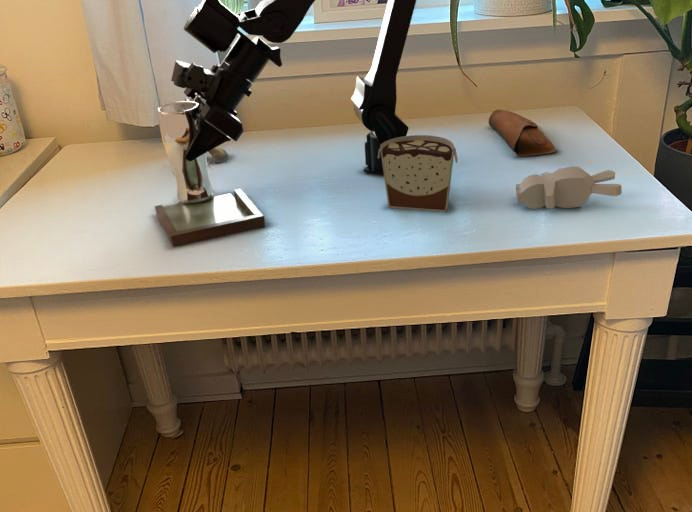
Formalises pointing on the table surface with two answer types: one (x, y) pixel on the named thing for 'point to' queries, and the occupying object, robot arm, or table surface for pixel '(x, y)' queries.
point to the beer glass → (184, 150)
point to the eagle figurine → (219, 154)
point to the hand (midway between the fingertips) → (183, 153)
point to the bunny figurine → (564, 188)
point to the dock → (209, 218)
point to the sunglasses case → (520, 134)
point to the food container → (418, 172)
